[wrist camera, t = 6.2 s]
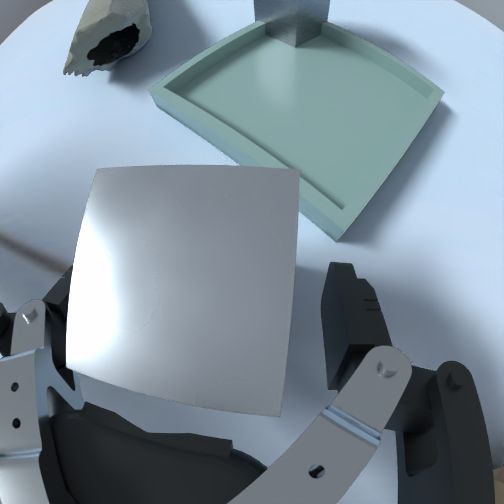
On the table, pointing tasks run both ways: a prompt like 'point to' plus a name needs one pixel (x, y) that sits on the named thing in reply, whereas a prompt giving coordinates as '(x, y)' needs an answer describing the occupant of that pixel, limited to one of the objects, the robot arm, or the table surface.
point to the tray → (305, 112)
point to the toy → (499, 484)
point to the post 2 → (292, 19)
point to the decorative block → (105, 34)
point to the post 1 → (187, 284)
